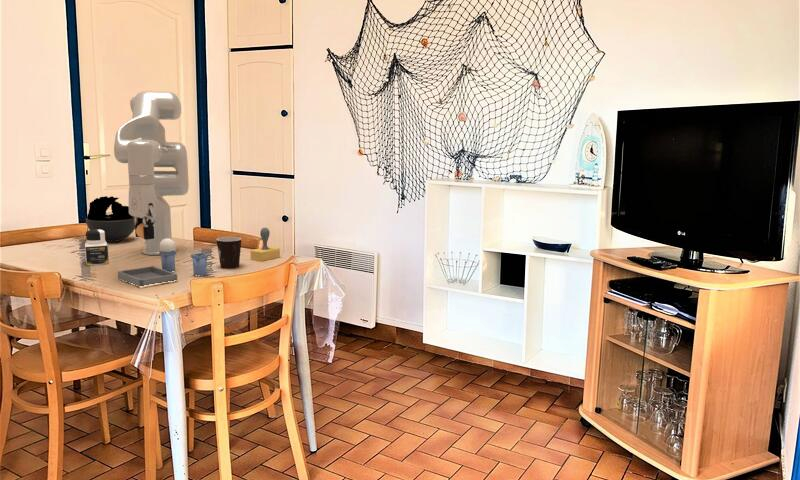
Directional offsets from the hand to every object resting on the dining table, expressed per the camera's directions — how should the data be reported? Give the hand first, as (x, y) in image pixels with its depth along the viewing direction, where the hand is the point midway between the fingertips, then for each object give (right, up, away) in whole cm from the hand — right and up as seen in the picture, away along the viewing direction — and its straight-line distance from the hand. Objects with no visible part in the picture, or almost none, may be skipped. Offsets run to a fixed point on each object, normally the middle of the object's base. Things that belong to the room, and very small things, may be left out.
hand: (144, 237), depth 205 cm
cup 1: (+2, -12, +15) cm, 19 cm away
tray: (0, -14, +3) cm, 14 cm away
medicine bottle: (-27, -9, +26) cm, 39 cm away
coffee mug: (+21, -11, +22) cm, 33 cm away
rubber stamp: (+30, -8, +38) cm, 50 cm away
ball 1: (0, +2, 0) cm, 2 cm away
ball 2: (+2, -3, +14) cm, 14 cm away
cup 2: (+14, -13, +11) cm, 22 cm away
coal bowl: (-40, -2, +67) cm, 78 cm away
